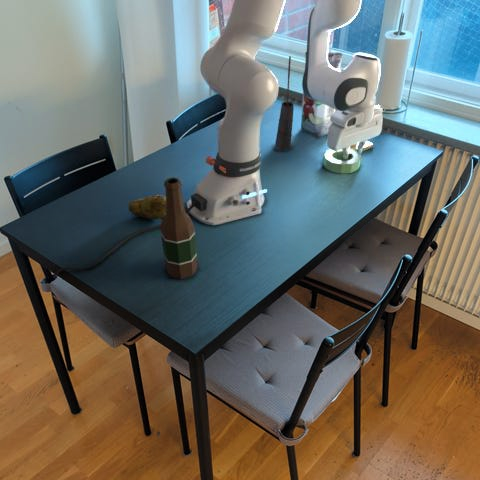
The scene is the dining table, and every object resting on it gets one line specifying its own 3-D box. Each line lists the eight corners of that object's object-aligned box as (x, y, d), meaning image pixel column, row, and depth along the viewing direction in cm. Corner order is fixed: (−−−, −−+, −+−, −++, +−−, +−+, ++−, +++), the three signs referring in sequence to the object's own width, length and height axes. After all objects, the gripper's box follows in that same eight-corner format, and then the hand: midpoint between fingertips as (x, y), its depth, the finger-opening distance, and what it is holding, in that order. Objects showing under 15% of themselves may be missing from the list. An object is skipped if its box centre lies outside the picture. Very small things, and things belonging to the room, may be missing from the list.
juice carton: (314, 122, 188) (322, 40, 170) (336, 132, 182) (346, 48, 164) (296, 129, 184) (302, 46, 166) (318, 139, 178) (326, 54, 160)
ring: (340, 177, 160) (341, 167, 158) (316, 162, 167) (316, 154, 165) (366, 166, 165) (368, 157, 163) (342, 153, 171) (343, 144, 169)
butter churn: (294, 157, 169) (300, 66, 150) (265, 153, 171) (268, 62, 152) (300, 145, 176) (307, 55, 156) (273, 141, 178) (276, 52, 158)
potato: (151, 204, 150) (147, 179, 144) (179, 222, 143) (176, 196, 137) (126, 215, 146) (121, 189, 140) (154, 235, 139) (150, 208, 133)
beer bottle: (198, 259, 131) (191, 171, 114) (197, 279, 125) (190, 189, 109) (167, 260, 131) (155, 172, 114) (164, 280, 125) (152, 190, 109)
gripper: (375, 100, 163) (368, 143, 172) (326, 117, 154) (321, 160, 164) (390, 107, 159) (382, 150, 169) (341, 124, 151) (335, 168, 160)
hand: (352, 155), depth 166 cm, fingers open, 4 cm apart
